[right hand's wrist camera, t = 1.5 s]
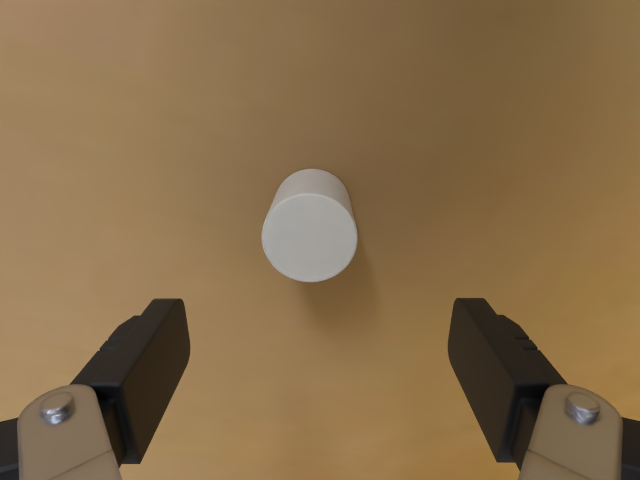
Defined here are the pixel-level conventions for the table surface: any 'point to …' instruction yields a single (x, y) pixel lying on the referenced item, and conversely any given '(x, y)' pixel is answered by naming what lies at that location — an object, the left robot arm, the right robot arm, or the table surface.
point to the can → (310, 227)
